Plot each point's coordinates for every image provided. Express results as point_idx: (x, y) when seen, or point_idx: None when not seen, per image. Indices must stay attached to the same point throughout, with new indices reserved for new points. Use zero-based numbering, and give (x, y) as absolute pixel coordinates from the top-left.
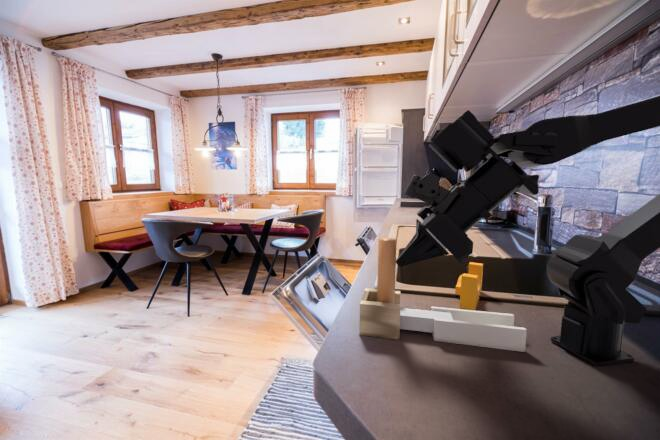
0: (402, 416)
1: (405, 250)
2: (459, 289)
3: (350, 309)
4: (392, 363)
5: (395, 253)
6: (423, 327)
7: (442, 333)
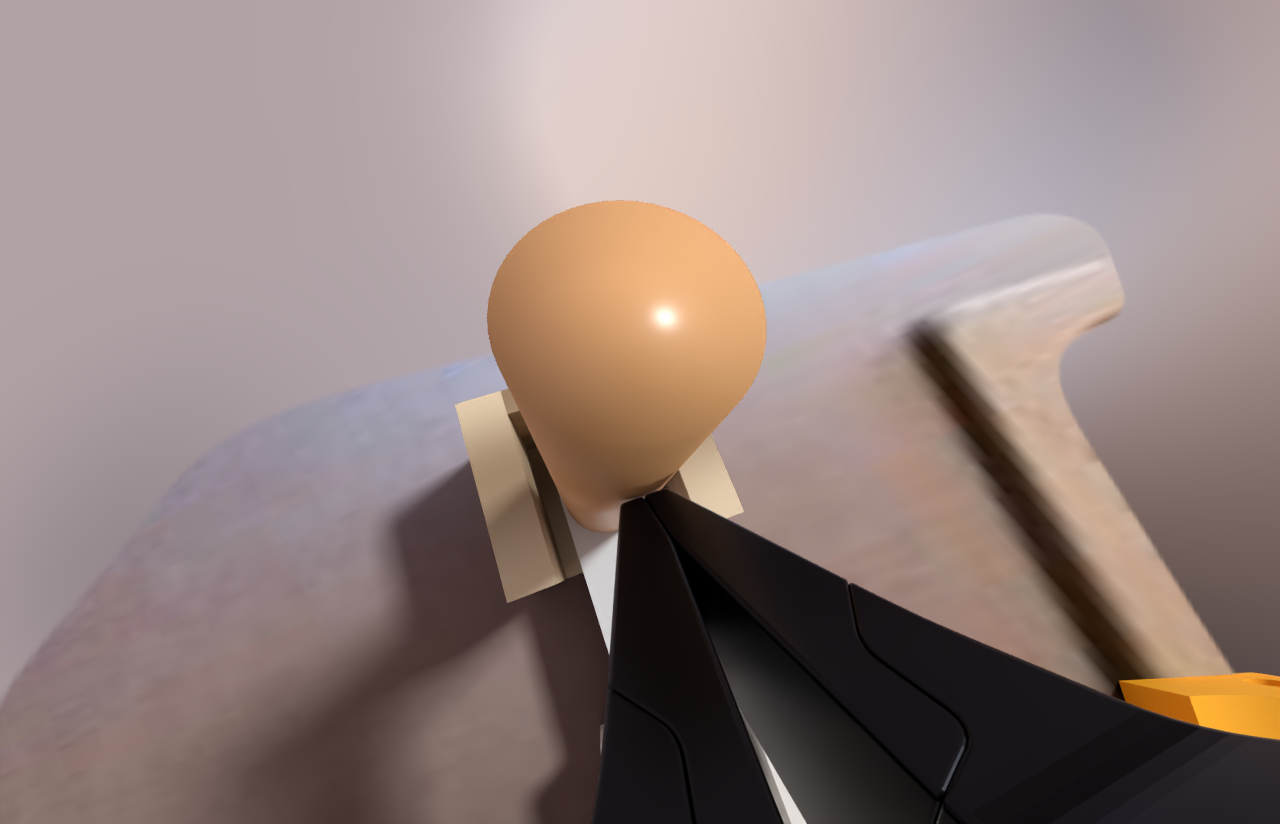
0: (64, 785)
1: (615, 621)
2: (1180, 716)
3: None
4: (355, 634)
5: (618, 485)
6: None
7: None
